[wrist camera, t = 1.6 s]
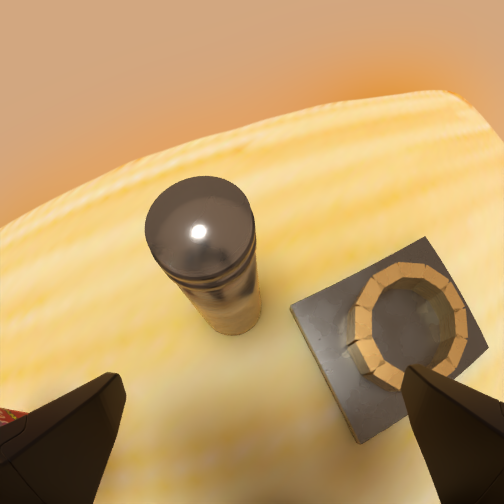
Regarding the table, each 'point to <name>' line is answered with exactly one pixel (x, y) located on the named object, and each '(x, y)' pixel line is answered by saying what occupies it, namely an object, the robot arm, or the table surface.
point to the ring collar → (388, 333)
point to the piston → (208, 249)
